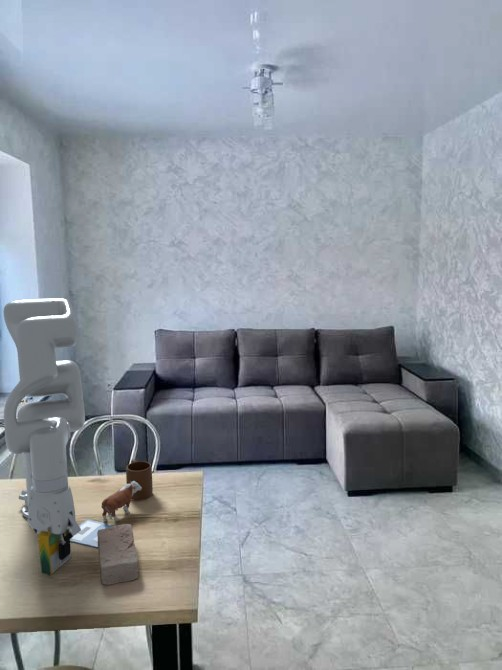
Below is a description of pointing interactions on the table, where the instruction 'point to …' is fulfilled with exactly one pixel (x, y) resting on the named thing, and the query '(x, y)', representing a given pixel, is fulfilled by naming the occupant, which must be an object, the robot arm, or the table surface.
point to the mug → (140, 478)
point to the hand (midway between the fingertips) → (55, 553)
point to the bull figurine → (119, 500)
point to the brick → (117, 554)
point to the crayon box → (50, 552)
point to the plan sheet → (89, 533)
